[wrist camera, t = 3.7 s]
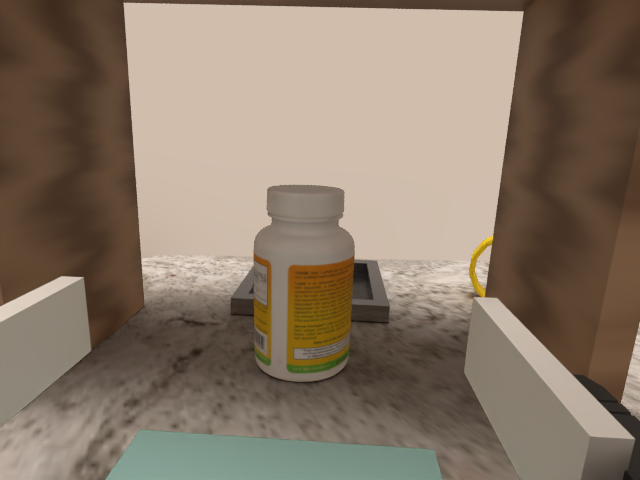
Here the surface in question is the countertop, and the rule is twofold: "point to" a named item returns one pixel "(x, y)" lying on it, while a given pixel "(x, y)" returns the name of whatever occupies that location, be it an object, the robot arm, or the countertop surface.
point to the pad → (266, 459)
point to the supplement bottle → (303, 284)
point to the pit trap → (365, 294)
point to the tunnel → (514, 196)
